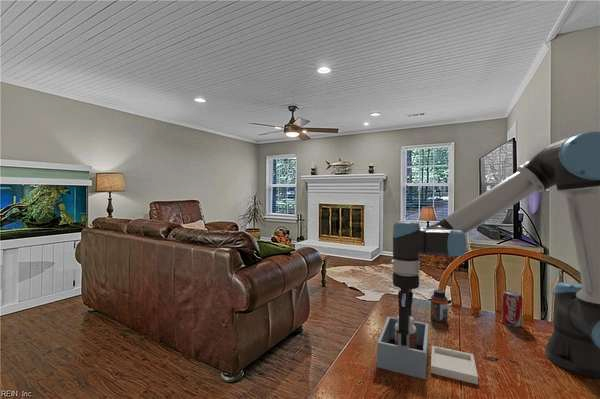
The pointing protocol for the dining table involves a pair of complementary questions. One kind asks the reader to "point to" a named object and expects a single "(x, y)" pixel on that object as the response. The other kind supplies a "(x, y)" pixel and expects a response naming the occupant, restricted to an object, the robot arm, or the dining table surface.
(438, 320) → the supplement bottle
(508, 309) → the soda can
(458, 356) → the tray
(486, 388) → the dining table surface
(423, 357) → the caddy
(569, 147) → the robot arm
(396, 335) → the pill bottle
